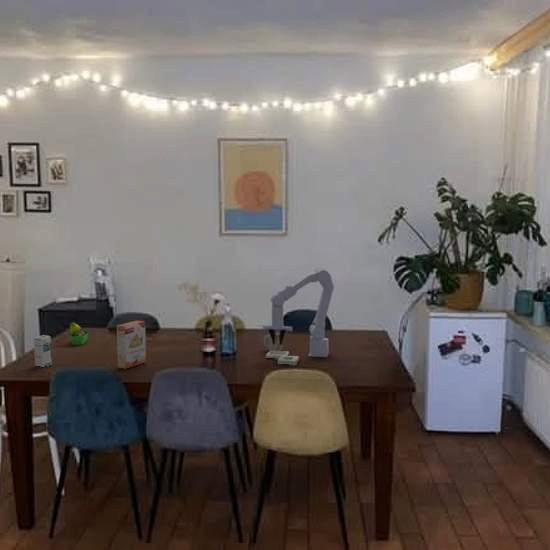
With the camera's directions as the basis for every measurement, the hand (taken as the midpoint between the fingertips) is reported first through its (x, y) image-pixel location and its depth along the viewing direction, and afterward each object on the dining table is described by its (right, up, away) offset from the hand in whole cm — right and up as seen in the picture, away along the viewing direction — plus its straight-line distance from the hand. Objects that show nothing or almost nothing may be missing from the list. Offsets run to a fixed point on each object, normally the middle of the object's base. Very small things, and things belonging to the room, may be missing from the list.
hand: (277, 344), depth 345 cm
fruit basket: (-109, -3, +32) cm, 114 cm away
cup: (-2, -5, +15) cm, 15 cm away
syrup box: (-113, -9, -13) cm, 114 cm away
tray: (0, -6, +1) cm, 6 cm away
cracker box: (-70, -9, -14) cm, 72 cm away
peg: (0, -3, 0) cm, 3 cm away
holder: (+5, -8, -9) cm, 13 cm away
